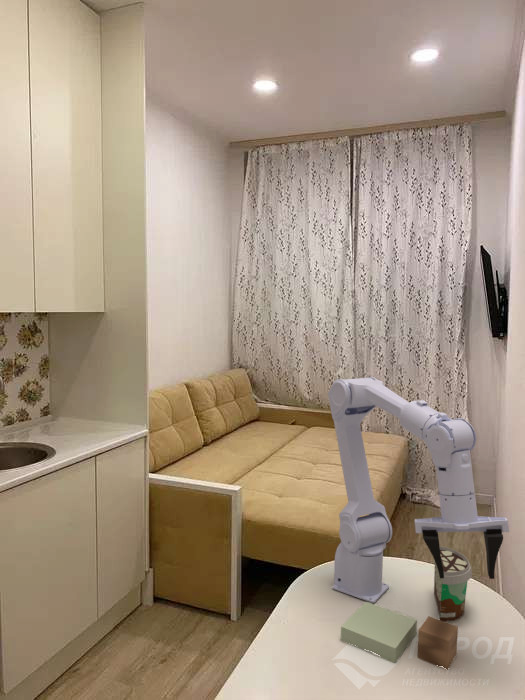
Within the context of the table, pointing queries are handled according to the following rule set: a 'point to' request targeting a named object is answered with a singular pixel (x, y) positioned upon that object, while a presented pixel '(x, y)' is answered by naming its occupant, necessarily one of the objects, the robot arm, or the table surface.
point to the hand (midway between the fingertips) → (466, 576)
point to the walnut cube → (437, 642)
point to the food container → (451, 584)
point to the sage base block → (379, 631)
